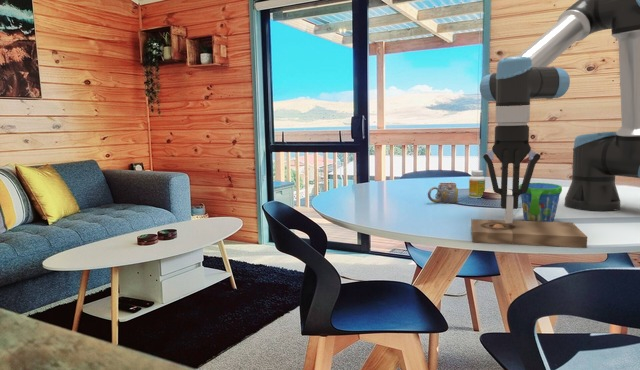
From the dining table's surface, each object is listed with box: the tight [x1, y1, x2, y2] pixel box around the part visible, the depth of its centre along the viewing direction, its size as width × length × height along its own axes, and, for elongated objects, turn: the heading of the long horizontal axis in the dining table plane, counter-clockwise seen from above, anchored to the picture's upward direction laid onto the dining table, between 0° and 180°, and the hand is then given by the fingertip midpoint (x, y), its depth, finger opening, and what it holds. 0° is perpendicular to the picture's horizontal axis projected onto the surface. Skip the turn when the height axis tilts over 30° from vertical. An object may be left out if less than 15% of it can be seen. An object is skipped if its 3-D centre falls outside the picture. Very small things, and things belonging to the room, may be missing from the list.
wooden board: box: [470, 218, 588, 249], centre depth 111 cm, size 24×14×2 cm, turn 73°
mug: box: [427, 182, 459, 204], centre depth 158 cm, size 12×7×7 cm, turn 113°
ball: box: [493, 224, 504, 228], centre depth 113 cm, size 3×3×3 cm
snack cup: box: [519, 182, 563, 222], centre depth 126 cm, size 16×10×10 cm
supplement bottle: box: [468, 169, 486, 199], centre depth 166 cm, size 5×5×10 cm
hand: (508, 221), depth 112 cm, fingers closed
